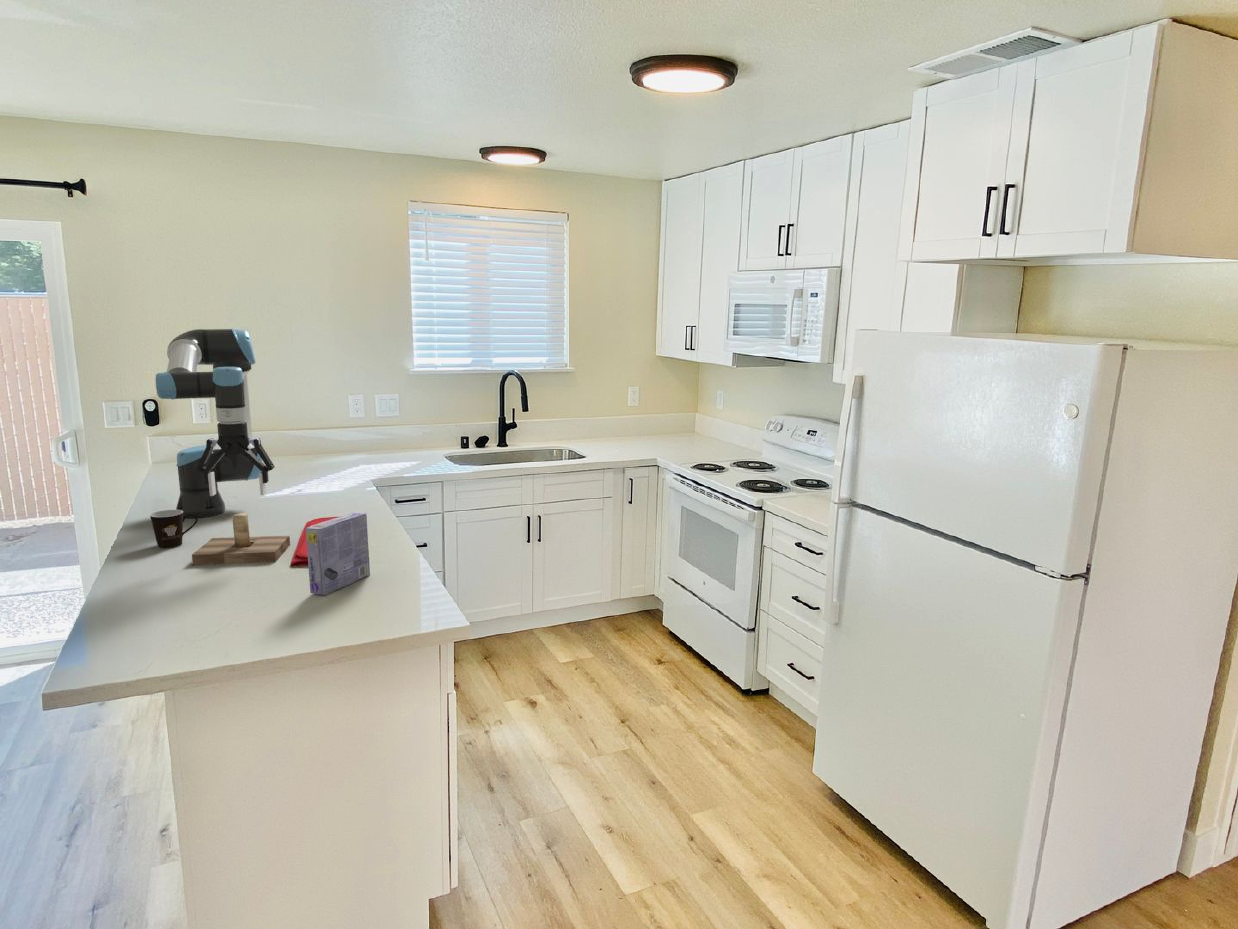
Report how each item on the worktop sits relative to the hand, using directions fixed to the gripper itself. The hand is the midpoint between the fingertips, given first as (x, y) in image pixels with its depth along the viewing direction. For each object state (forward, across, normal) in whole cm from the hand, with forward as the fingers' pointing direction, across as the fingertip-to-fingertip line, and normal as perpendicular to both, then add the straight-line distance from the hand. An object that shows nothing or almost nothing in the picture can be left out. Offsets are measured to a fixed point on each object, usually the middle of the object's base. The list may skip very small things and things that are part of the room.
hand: (238, 494), depth 217 cm
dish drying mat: (+19, +21, +8) cm, 30 cm away
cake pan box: (+18, +33, -28) cm, 47 cm away
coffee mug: (+18, -23, +12) cm, 32 cm away
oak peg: (+18, 0, 0) cm, 18 cm away
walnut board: (+18, 0, 0) cm, 18 cm away
